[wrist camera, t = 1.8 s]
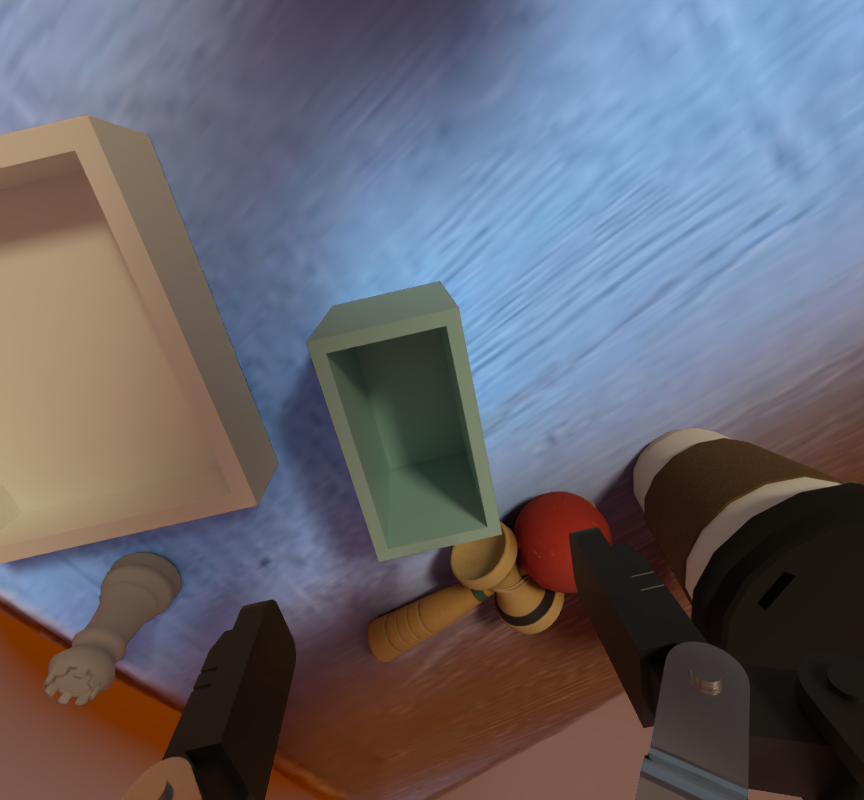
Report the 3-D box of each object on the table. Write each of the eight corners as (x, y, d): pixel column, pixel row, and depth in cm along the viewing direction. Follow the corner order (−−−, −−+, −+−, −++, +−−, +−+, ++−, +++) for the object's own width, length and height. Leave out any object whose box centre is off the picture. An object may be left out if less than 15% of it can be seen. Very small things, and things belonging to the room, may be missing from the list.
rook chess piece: (139, 536, 29) (52, 644, 22) (198, 573, 31) (135, 686, 23) (99, 576, 30) (3, 692, 23) (158, 610, 32) (85, 730, 24)
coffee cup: (566, 508, 31) (662, 671, 20) (656, 367, 27) (832, 468, 16) (693, 553, 33) (842, 721, 22) (790, 427, 30) (1024, 552, 19)
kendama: (423, 639, 36) (627, 536, 31) (408, 716, 30) (657, 606, 25) (362, 571, 35) (563, 450, 30) (333, 636, 29) (577, 502, 24)
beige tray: (-181, 212, 21) (-321, 211, 17) (148, 134, 21) (87, 114, 17) (28, 519, 28) (-36, 571, 24) (278, 462, 28) (257, 505, 24)
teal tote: (332, 305, 25) (305, 342, 17) (439, 280, 25) (458, 307, 17) (383, 474, 29) (379, 561, 22) (474, 453, 29) (502, 534, 22)
